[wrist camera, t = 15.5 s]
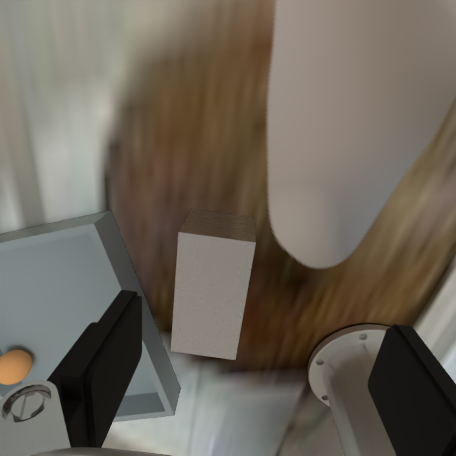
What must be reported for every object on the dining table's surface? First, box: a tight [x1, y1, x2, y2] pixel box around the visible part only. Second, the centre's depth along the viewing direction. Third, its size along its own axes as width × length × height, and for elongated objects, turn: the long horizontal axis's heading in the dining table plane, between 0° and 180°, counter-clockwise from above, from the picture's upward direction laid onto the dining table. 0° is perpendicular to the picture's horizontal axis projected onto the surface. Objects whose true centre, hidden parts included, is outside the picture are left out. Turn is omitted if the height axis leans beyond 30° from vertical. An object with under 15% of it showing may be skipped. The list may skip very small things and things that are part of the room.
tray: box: [0, 211, 181, 422], centre depth 33 cm, size 24×20×4 cm
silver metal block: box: [171, 208, 256, 360], centre depth 28 cm, size 12×6×6 cm, turn 173°
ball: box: [0, 350, 32, 385], centre depth 34 cm, size 4×4×4 cm
